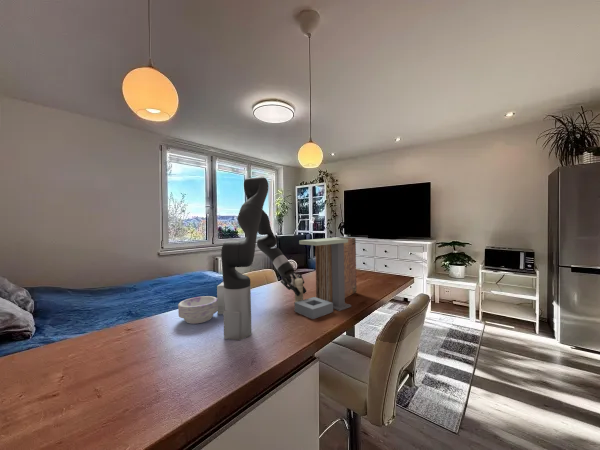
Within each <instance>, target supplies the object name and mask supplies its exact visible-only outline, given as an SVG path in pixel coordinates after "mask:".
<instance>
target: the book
mask: <svg viewBox="0 0 600 450" xmlns="http://www.w3.org/2000/svg"><path fill="white" fill-rule="evenodd" d="M340 238H341V239H348V242H347V243H344V284H345V299H346V298H348V297H350V296H351V295H354V294H355V293H358V292H357V249H356V248H357V247H356V243H357V242H356V237H344V236H343V237H342V236H341V237H340ZM314 247H315V249H314V250H315V251H314V252H315V297H316V298H319V299H322V300H326V301H329V302H332V303H333V300H332V249H331V244H328V245H318V246H314Z"/></svg>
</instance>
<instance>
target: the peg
mask: <svg viewBox="0 0 600 450" xmlns="http://www.w3.org/2000/svg"><path fill="white" fill-rule="evenodd" d="M303 280H304V278H303V279H302V278H296V279H295V286H296V287H297V289H298V290H299V291H300V293H301V294H300V295H299V296H297V295H296V294H295V293H294V302H298V301H301V300H304V294H303V286H304V284H303Z"/></svg>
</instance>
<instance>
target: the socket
mask: <svg viewBox="0 0 600 450" xmlns="http://www.w3.org/2000/svg"><path fill="white" fill-rule="evenodd" d="M293 304H294V312H295V313H298V314H299V315H301V316H304V317H306V318H309V319H311V320H315V319H317V318H321V317H324V316H325V315H329V314H331V313H333V312H334V309H333V303H332V302H329V301H326V300H322V299H319V298H316V296H314V297H309V298H305V299H303V300H301V301H298V302H295V301H294V303H293Z"/></svg>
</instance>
